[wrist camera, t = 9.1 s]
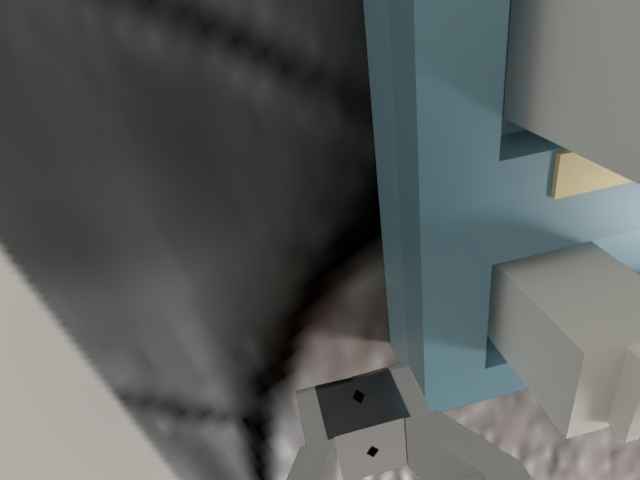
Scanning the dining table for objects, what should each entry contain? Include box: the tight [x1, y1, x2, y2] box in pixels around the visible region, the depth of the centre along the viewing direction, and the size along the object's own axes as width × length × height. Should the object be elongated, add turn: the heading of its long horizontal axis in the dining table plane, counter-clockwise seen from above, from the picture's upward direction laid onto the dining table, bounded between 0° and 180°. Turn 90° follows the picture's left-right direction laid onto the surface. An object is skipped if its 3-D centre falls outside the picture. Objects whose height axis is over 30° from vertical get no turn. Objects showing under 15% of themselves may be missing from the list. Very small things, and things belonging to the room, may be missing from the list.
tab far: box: [487, 241, 640, 443], centre depth 13 cm, size 3×3×5 cm
